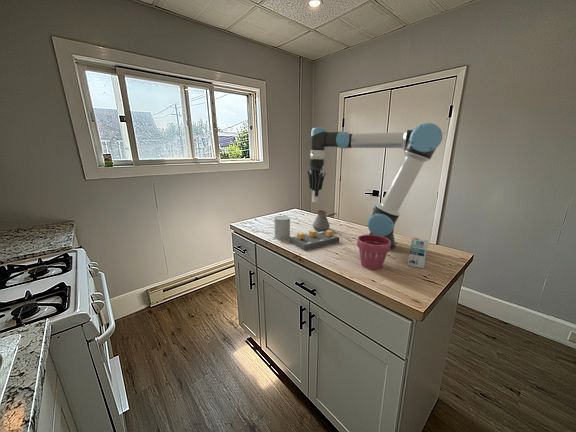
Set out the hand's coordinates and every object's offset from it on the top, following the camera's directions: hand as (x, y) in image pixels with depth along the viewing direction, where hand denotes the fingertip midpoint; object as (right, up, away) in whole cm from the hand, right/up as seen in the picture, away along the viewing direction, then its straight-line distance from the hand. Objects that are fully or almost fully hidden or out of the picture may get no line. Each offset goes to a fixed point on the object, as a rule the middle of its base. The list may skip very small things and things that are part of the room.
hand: (314, 201), depth 132 cm
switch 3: (+9, -19, +6) cm, 22 cm away
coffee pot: (+10, -19, +24) cm, 32 cm away
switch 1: (-8, -20, +1) cm, 22 cm away
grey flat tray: (+1, -23, +5) cm, 24 cm away
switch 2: (0, -19, +6) cm, 20 cm away
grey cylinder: (-19, -21, +13) cm, 31 cm away
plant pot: (+23, -31, -23) cm, 45 cm away
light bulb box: (+46, -30, -20) cm, 59 cm away
